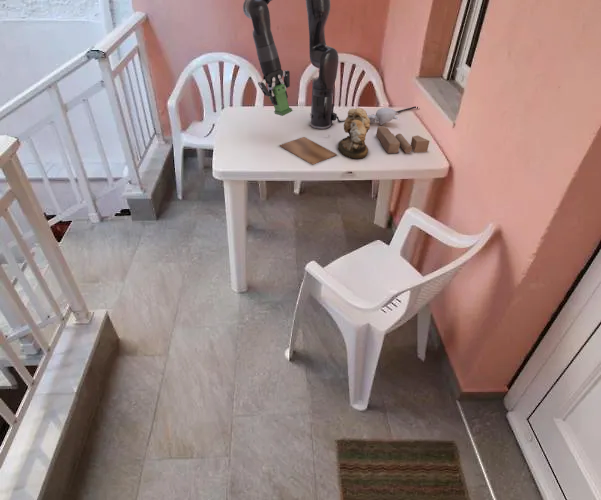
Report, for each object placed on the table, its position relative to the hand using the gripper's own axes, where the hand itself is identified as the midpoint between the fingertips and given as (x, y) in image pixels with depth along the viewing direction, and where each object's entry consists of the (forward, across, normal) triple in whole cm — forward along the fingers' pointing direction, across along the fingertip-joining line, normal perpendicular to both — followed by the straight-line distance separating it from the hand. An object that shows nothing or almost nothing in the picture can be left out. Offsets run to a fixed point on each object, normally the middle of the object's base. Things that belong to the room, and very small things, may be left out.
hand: (280, 102), depth 163 cm
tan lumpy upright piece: (+24, +16, -20) cm, 35 cm away
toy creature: (+27, +44, -7) cm, 52 cm away
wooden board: (+19, 0, -11) cm, 22 cm away
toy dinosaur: (+3, 0, +4) cm, 5 cm away
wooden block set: (+29, +36, -27) cm, 53 cm away
